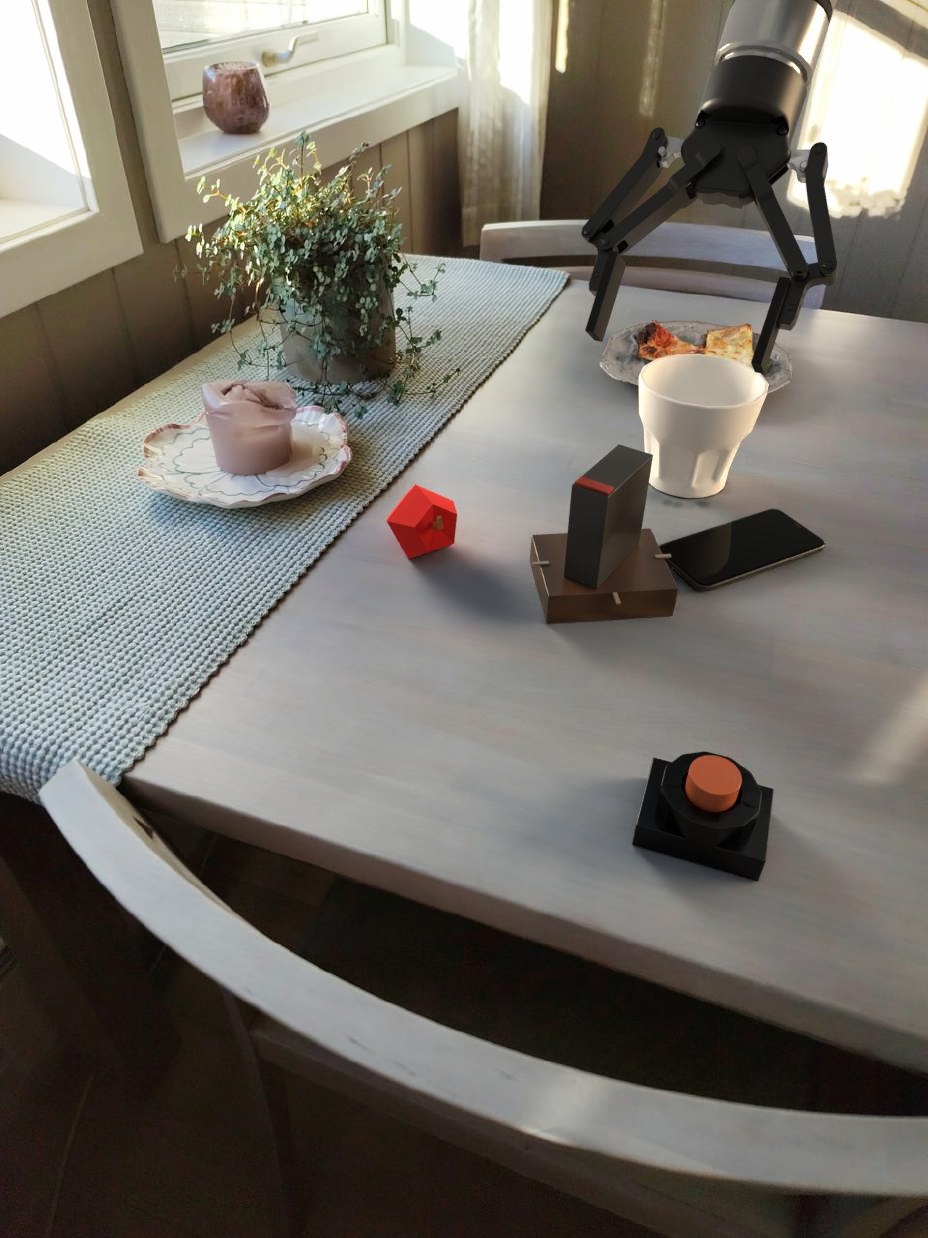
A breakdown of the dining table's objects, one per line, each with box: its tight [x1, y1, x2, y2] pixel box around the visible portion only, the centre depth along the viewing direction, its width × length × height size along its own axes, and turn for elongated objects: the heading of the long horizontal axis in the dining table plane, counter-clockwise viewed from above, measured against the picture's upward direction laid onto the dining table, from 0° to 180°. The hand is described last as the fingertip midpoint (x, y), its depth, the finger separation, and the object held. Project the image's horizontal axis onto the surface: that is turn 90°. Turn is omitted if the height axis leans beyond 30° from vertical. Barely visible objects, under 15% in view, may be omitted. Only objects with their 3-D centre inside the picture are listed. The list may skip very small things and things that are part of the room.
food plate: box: [599, 319, 793, 395], centre depth 111 cm, size 25×23×4 cm
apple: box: [386, 484, 458, 560], centre depth 80 cm, size 7×7×8 cm
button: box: [685, 755, 742, 812], centre depth 54 cm, size 3×3×2 cm
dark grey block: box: [564, 444, 653, 589], centre depth 72 cm, size 8×3×9 cm, turn 145°
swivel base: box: [529, 527, 679, 625], centre depth 76 cm, size 12×12×3 cm
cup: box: [638, 354, 769, 499], centre depth 88 cm, size 12×12×11 cm
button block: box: [631, 751, 775, 882], centre depth 56 cm, size 8×6×4 cm
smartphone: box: [658, 508, 827, 592], centre depth 81 cm, size 7×1×15 cm
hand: (672, 352), depth 69 cm, fingers open, 13 cm apart
